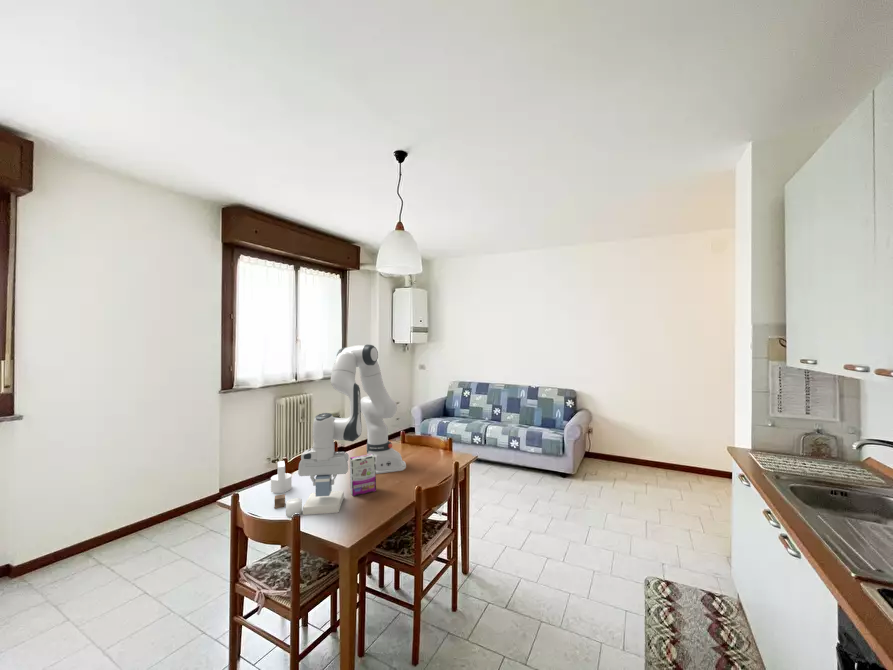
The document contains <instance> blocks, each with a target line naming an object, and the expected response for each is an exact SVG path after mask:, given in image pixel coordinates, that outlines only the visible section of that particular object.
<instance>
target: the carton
mask: <svg viewBox="0 0 893 670" xmlns="http://www.w3.org/2000/svg"><path fill="white" fill-rule="evenodd" d="M332 477H333V475H316V476H315V482H316V486H315V493H316V497H317V496H329V495H330V493H331V492H333V491H332V490H333V487H332V486H333V485H330V480H331V479H333V478H332Z"/></svg>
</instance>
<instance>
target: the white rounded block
mask: <svg viewBox="0 0 893 670" xmlns="http://www.w3.org/2000/svg"><path fill="white" fill-rule="evenodd" d="M295 513H299V514H300V515H301V514H303V500H302V498H300V497H295V498H289V499H288V500H287V501H285V517H287V518H288V517H289V518H292V517H291V516H292V515H293V514H295Z"/></svg>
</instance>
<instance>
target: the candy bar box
mask: <svg viewBox="0 0 893 670" xmlns="http://www.w3.org/2000/svg"><path fill="white" fill-rule="evenodd" d="M376 475H377V474H376V465H375V456H374V455H373V454H368V455H367V454H362V455H357V456H352V457H349V479H350V480H349V483H350V484H349V485H350V490H349V491H350V494H351V496H353V497H354V496H360V495H365V494H369V493H373V492H376V491H377V477H376Z"/></svg>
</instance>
